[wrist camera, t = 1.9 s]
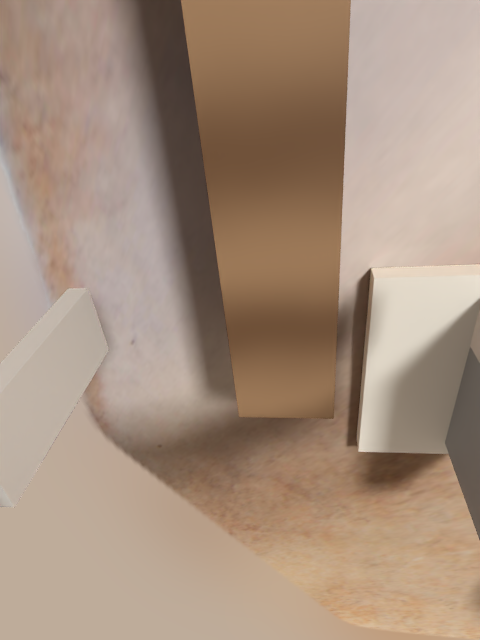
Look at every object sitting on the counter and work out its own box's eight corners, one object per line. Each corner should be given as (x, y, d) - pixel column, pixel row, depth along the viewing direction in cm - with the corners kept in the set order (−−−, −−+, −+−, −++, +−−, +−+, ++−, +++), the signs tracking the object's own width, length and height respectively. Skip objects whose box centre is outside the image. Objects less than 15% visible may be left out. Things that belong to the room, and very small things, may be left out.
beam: (181, -356, 11) (86, -675, 6) (341, -397, 10) (383, -790, 5) (251, 334, 23) (239, 416, 18) (325, 333, 22) (333, 418, 18)
